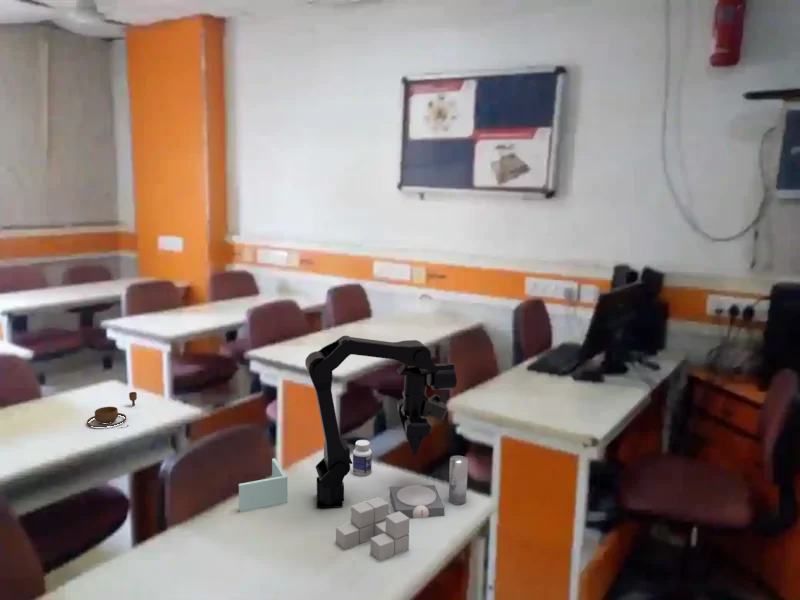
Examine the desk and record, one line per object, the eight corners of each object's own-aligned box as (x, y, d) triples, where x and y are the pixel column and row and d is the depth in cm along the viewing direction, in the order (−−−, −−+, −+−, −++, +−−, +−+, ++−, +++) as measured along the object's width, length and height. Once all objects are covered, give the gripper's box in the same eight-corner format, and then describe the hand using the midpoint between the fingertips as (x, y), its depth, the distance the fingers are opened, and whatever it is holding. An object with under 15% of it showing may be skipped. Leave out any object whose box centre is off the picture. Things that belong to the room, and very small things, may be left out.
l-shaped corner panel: (275, 483, 176) (275, 458, 175) (287, 504, 165) (287, 477, 164) (230, 492, 171) (230, 465, 170) (240, 513, 160) (239, 485, 159)
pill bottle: (368, 477, 180) (369, 447, 178) (350, 475, 181) (350, 445, 179) (373, 469, 185) (373, 439, 183) (355, 467, 186) (356, 438, 184)
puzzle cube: (335, 542, 148) (335, 510, 147) (378, 526, 155) (379, 496, 154) (364, 568, 139) (364, 534, 137) (409, 550, 146) (409, 518, 144)
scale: (396, 522, 159) (396, 507, 158) (389, 498, 171) (390, 483, 170) (444, 519, 160) (445, 505, 160) (434, 495, 172) (434, 481, 172)
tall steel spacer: (450, 505, 166) (452, 463, 163) (446, 496, 170) (448, 456, 168) (468, 504, 166) (469, 462, 164) (463, 495, 171) (465, 455, 168)
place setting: (77, 421, 216) (75, 404, 215) (134, 406, 231) (134, 390, 230) (100, 436, 205) (99, 418, 204) (159, 419, 220) (158, 402, 219)
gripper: (453, 402, 159) (449, 462, 161) (438, 379, 177) (435, 433, 180) (408, 402, 157) (405, 462, 160) (398, 378, 175) (395, 433, 178)
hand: (411, 447), depth 169 cm, fingers open, 9 cm apart
